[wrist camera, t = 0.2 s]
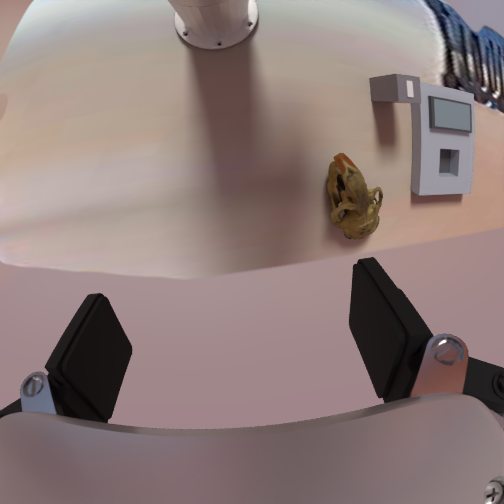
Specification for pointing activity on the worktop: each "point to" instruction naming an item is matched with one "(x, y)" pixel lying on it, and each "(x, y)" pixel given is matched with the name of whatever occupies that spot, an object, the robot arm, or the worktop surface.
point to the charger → (396, 89)
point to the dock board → (442, 141)
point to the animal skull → (352, 199)
